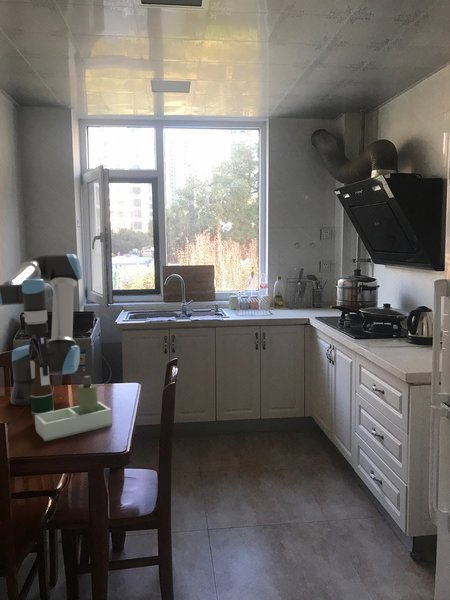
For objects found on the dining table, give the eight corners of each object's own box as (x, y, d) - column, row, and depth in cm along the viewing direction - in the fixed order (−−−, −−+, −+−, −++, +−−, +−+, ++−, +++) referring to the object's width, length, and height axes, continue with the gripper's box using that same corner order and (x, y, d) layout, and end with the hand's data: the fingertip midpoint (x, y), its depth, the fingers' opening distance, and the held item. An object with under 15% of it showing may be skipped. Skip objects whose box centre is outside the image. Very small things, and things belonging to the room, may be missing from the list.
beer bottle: (47, 427, 175) (42, 360, 172) (28, 426, 176) (22, 360, 174) (59, 419, 182) (54, 355, 180) (40, 418, 184) (35, 355, 181)
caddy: (35, 431, 171) (34, 414, 170) (100, 416, 184) (99, 401, 183) (45, 441, 161) (43, 424, 160) (112, 425, 174) (111, 409, 173)
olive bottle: (77, 422, 176) (74, 376, 175) (95, 418, 180) (92, 373, 178) (83, 426, 171) (80, 380, 169) (101, 422, 175) (98, 376, 173)
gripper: (17, 320, 184) (21, 376, 185) (33, 327, 163) (38, 390, 165) (38, 318, 188) (42, 373, 190) (56, 324, 167) (61, 386, 169)
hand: (40, 381), depth 177 cm, fingers open, 13 cm apart
